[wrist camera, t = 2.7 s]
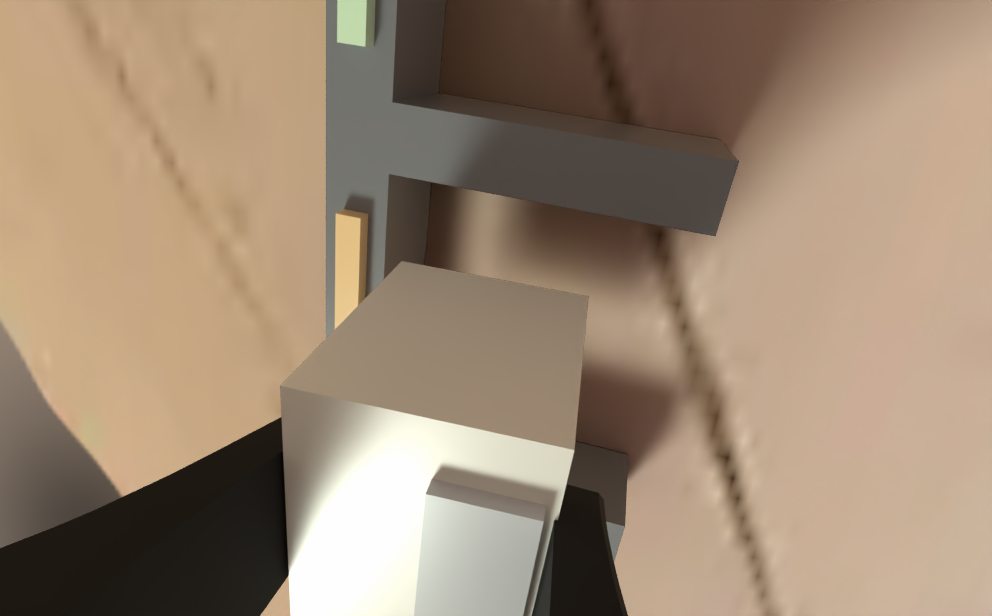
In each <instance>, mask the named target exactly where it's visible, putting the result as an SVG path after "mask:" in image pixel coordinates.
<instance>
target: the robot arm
mask: <svg viewBox="0 0 992 616" xmlns="http://www.w3.org/2000/svg"><path fill="white" fill-rule="evenodd" d="M288 575H289V568H288V546H287V525H286V503H285V481H284V460H283V438H282V417H281V418H279V419H277V420H275V421H273V422H271V423H269V424H267V425H265V426H263V427H262V428H260V429H258V430H256V431H254V432H252V433H250V434H248V435H246V436H244V437H243V438H241V439H239V440H237V441H235V442H233V443H231V444H229V445H227V446H225V447H224V448H222V449H220V450H218V451H216V452H214V453H212V454H210V455H208V456H206V457H204V458H202V459H200V460H198V461H196V462H194V463H192V464H190V465H188V466H186V467H185V468H183V469H181V470H179V471H177V472H175V473H173V474H171V475H169V476H167V477H164V478H162V479H160V480H158V481H156V482H154V483H152V484H149V485H147V486H145V487H143V488H141V489H139V490H137V491H135V492H132V493H130V494H128V495H126V496H124V497H122V498H120V499H117V500H116V501H113V502H111V503H109V504H107V505H105V506H102V507H100V508H98V509H96V510H94V511H92V512H89V513H87V514H84V515H82V516H80V517H78V518H75V519H73V520H71V521H68V522H66V523H64V524H61V525H58V526H56V527H54V528H51V529H49V530H46V531H43V532H41V533H38V534H36V535H33V536H31V537H28V538H25V539H23V540H20V541H18V542H15V543H13V544H10V545H8V546H5V547H3V548H0V616H260V615H261V613H262V612H263V611H264V609H265V608H266V607H267V605H268V604H269V602H270V601H271V599H272V598H273V597H274V595H275V594H276V592H277V591H278V590H279V588H280V587H281V585H282V584H283V583H284V581H285V580H286V578H287V577H288ZM532 616H628V615H627V611H626V607H625V604H624V600H623V597H622V593H621V590H620V586H619V582H618V578H617V574H616V569H615V565H614V560H613V556H612V551H611V546H610V541H609V536H608V530H607V524H606V516H605V506H604V499H603V498H602V497H601V495H600V494H599V493H598V492H594V491H590V490H587V489H583V488H579V487H576V486H572V485H568V484H566V488H565V493H564V497H563V501H562V505H561V510H560V514H559V518H558V520H554V524H553V528H552V532H551V536H550V540H549V545H548V549H547V553H546V557H545V562H544V566H543V570H542V574H541V578H540V583H539V587H538V591H537V595H536V600H535V604H534V608H533V612H532Z"/></svg>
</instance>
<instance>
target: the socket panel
mask: <svg viewBox="0 0 992 616" xmlns="http://www.w3.org/2000/svg"><path fill="white" fill-rule="evenodd" d="M445 8H446V0H326V338H327V337H328V336H329V335H330V334H331V333H332V332H333V331H334V330H335V329H336V328H337V327H338V326H339V325H340V324H341V323H342V322H343V321H344V320H345V319H346V318H347V317H348V316H349V315H350V314H351V313H352V312H353V310H354V309H355V308H356V307H357V306H358V305H359V304H360V303H361V302H362V301H363V300H364V299H365V298H366V297H367V296H368V295H369V294H370V293H371V292H372V291H373V290H374V289H375V288H376V287H377V286H378V285H379V284H380V283H381V282H382V281H383V280H384V279H385V278H386V277H387V276H388V275H389V274H390V273H391V272H392V271H393V270H394V268H395V267H396V266H397V265H398V264H399V263H400V262H401V261H404V262H409V263H415V264H420V265H425V253H426V241H427V229H428V217H429V204H430V192H431V182H434V183H439V184H444V185H449V186H454V187H460V188H465V189H470V190H475V191H481V192H486V193H491V194H496V195H502V196H507V197H512V198H517V199H522V200H528V201H533V202H538V203H543V204H549V205H554V206H559V207H564V208H570V209H575V210H580V211H585V212H591V213H596V214H601V215H606V216H611V217H617V218H622V219H627V220H632V221H638V222H643V223H648V224H653V225H659V226H664V227H669V228H674V229H679V230H685V231H690V232H695V233H700V234H706V235H711V236H716V233H717V230H718V227H719V223H720V220H721V217H722V214H723V211H724V207H725V204H726V201H727V198H728V194H729V191H730V188H731V185H732V182H733V178H734V175H735V172H736V169H737V166H738V162H739V161H738V160H737V159H736V157H735V156H734V155H733V154H732V153H731V151H730V150H729V149H728V148H727V147H726V146H725V144H724V143H723V142H722V141H721V140H720V139H714V138H707V137H701V136H695V135H689V134H683V133H677V132H671V131H665V130H659V129H653V128H647V127H641V126H635V125H629V124H623V123H617V122H611V121H605V120H599V119H593V118H586V117H580V116H574V115H568V114H562V113H556V112H550V111H544V110H538V109H532V108H526V107H520V106H514V105H508V104H502V103H496V102H490V101H484V100H478V99H472V98H465V97H459V96H453V95H447V94H441V93H439V81H440V69H441V57H442V45H443V32H444V20H445ZM627 468H628V455H627V454H623V453H619V452H615V451H611V450H607V449H604V448H600V447H596V446H592V445H588V444H584V443H580V442H576V441H575V449H574V454H573V458H572V463H571V467H570V471H569V475H568V480H567V484H568V485H572V486H576V487H579V488H583V489H587V490H590V491H594V492H598V493H599V494H600V495H601V497H602V498H603V499H604V506H605V516H606V524H607V530H608V536H609V541H610V546H611V551H612V556H613V560H615V557H616V554H617V551H618V547H619V544H620V541H621V538H622V535H623V531H624V528H625V514H626V491H627Z"/></svg>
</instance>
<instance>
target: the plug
mask: <svg viewBox="0 0 992 616" xmlns="http://www.w3.org/2000/svg"><path fill="white" fill-rule="evenodd" d="M588 297H589V296H584V295H579V294H574V293H568V292H563V291H558V290H552V289H547V288H542V287H537V286H531V285H526V284H521V283H515V282H510V281H505V280H499V279H494V278H489V277H484V276H478V275H473V274H468V273H462V272H457V271H452V270H446V269H441V268H436V267H430V266H425V265H420V264H415V263H409V262H404V261H401V262H400V263H399V264H398V265H397V266H396V267H395V268H394V270H393V271H392V272H391V273H390V274H389V275H388V276H387V277H386V278H385V279H384V280H383V281H382V282H381V283H380V284H379V285H378V286H377V287H376V288H375V289H374V290H373V291H372V292H371V293H370V294H369V295H368V296H367V297H366V298H365V299H364V300H363V301H362V302H361V303H360V304H359V305H358V306H357V307H356V308H355V309H354V310H353V312H352V313H351V314H350V315H349V316H348V317H347V318H346V319H345V320H344V321H343V322H342V323H341V324H340V325H339V326H338V327H337V328H336V329H335V330H334V331H333V332H332V333H331V334H330V335H329V336H328V337H327V338H326V339H325V340H324V341H323V342H322V343H321V344H320V345H319V346H318V347H317V348H316V349H315V350H314V351H313V353H312V354H311V355H310V356H309V357H308V358H307V359H306V360H305V361H304V362H303V363H302V364H301V365H300V366H299V367H298V368H297V369H296V370H295V371H294V372H293V373H292V374H291V375H290V376H289V377H288V378H287V379H286V380H285V381H284V382H283V383H282V384H281V385H280V395H281V417H282V438H283V460H284V481H285V503H286V525H287V546H288V568H289V589H290V611H291V616H532V612H533V608H534V604H535V600H536V595H537V591H538V587H539V583H540V578H541V574H542V570H543V566H544V562H545V557H546V553H547V549H548V545H549V540H550V536H551V532H552V528H553V524H554V520H558V518H559V514H560V510H561V505H562V501H563V497H564V493H565V488H566V484H567V480H568V475H569V471H570V467H571V463H572V458H573V454H574V449H575V438H576V428H577V417H578V406H579V395H580V384H581V373H582V362H583V351H584V341H585V330H586V319H587V308H588Z"/></svg>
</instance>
